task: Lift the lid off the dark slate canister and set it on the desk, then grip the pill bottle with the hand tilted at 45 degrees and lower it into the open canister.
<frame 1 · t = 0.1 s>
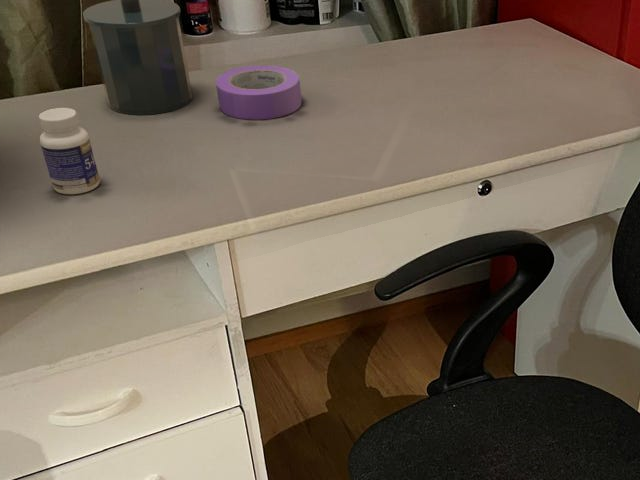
tape roll: (261, 106, 126), on the table
canister lid: (132, 14, 119), point 12 cm above the table, touching canister
canister: (150, 100, 126), on the table
pill bottle: (77, 187, 104), on the table
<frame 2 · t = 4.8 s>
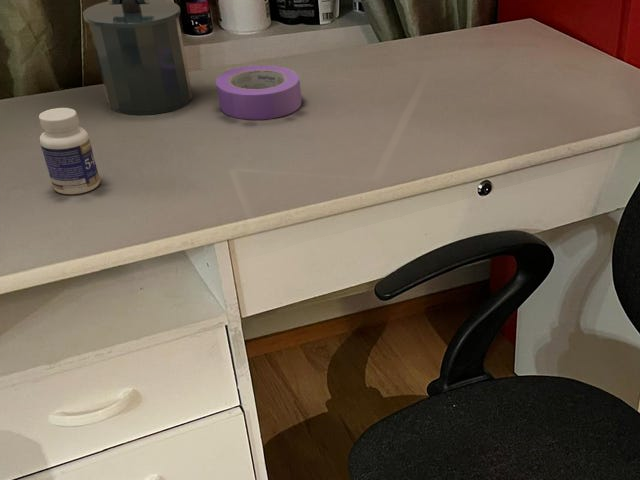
hand: (130, 3, 118), 14 cm above the table, tool pointing down, fingers closed on canister lid, 2 cm apart
canister lid: (132, 14, 119), point 12 cm above the table, touching canister, gripper
everything else where it was.
when the fingers open (2 cm above the table, at t = 13.0 s): canister lid stays where it is, point 1 cm above the table.
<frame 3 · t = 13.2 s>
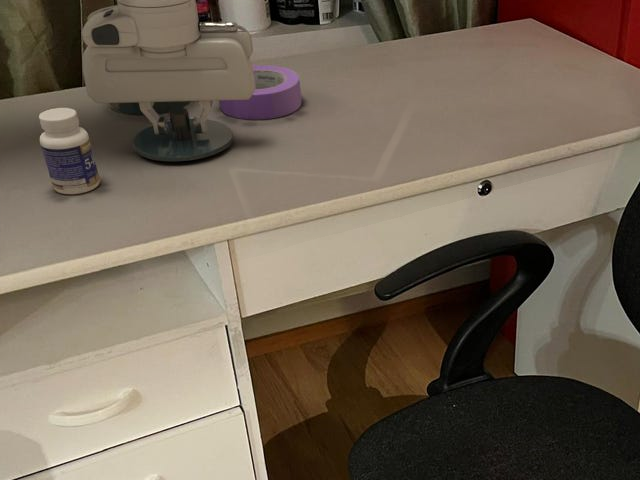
hand: (181, 132, 112), 2 cm above the table, tool pointing down, fingers open, 4 cm apart
canister lid: (184, 141, 113), point 1 cm above the table
everything else where it was.
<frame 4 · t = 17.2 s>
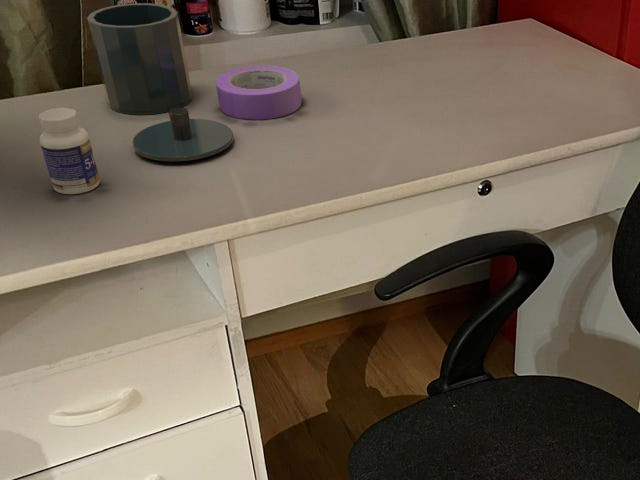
nothing on the table moved.
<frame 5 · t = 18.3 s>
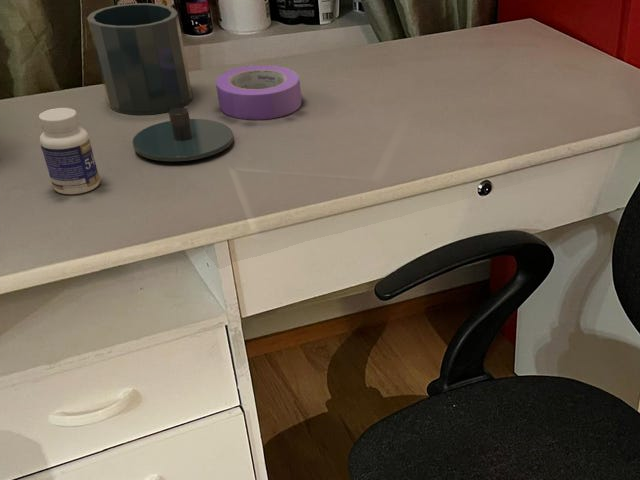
nothing on the table moved.
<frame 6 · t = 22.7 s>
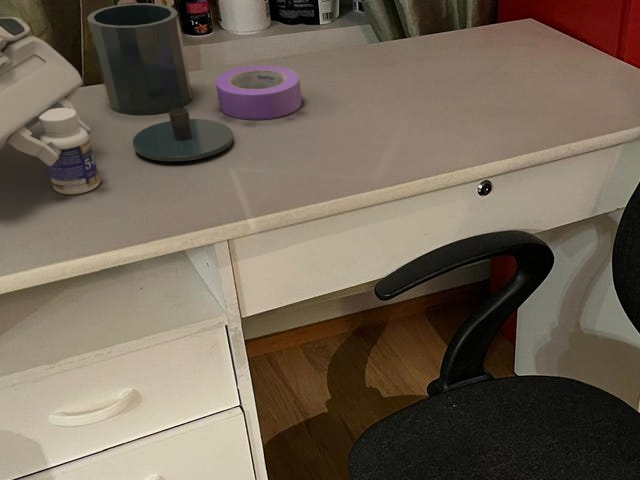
hand: (72, 148, 101), 5 cm above the table, tool tilted 45°, fingers closed on pill bottle, 5 cm apart
pill bottle: (77, 187, 104), on the table, touching gripper
everything else where it was.
when the fingers open (15 cm above the table, at t = 33.0 s): pill bottle drops 9 cm, resting on canister.
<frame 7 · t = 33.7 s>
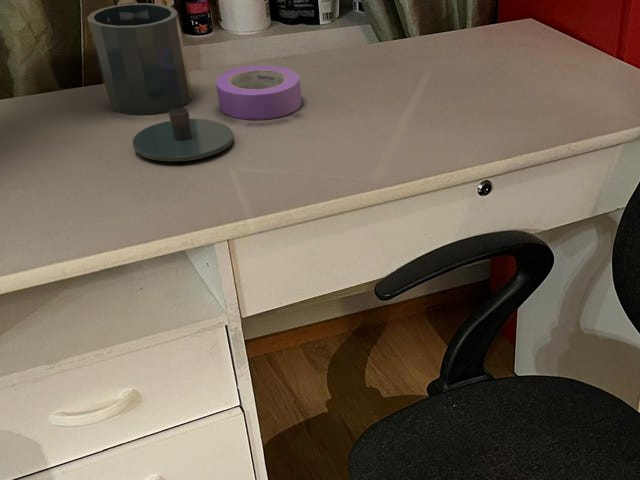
pill bottle: (150, 97, 126), resting on canister
everything else where it was.
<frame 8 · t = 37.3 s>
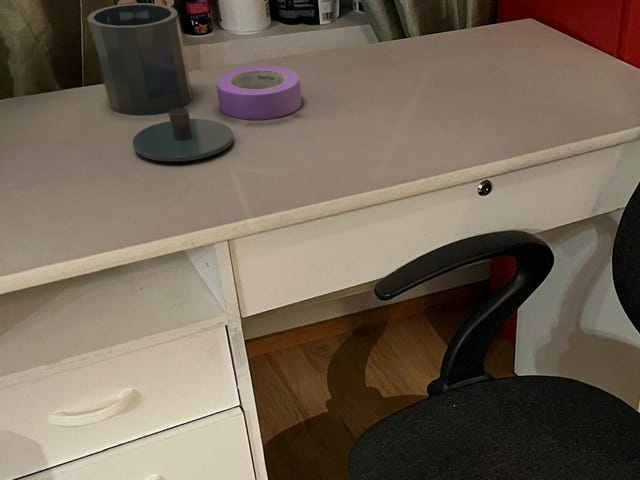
nothing on the table moved.
at the end: canister lid inside the target area (0.0 cm from its centre), point 0.6 cm above the table; pill bottle inside the target area in the canister (0.0 cm from its centre), point 0.3 cm above the canister's base; the gripper is holding nothing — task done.
